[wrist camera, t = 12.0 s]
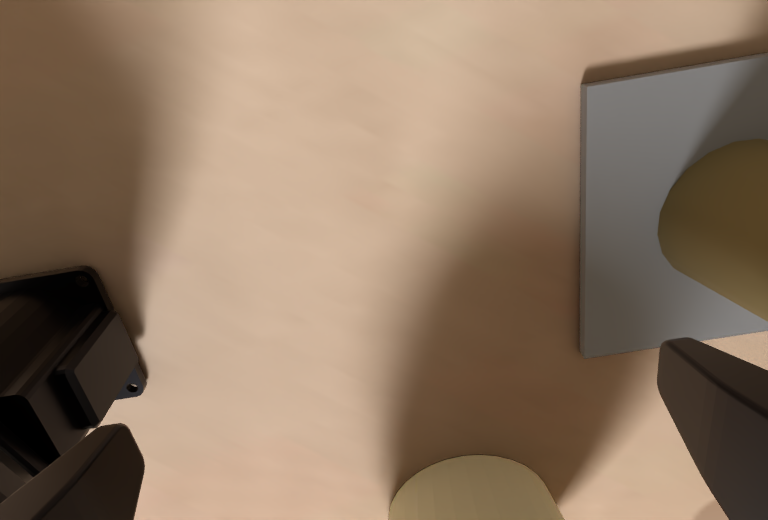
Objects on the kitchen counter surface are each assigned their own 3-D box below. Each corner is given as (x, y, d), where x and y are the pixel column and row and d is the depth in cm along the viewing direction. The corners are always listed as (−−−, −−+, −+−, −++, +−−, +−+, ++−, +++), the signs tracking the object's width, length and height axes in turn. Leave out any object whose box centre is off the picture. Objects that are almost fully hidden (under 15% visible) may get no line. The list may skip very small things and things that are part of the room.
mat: (579, 350, 25) (584, 358, 24) (581, 84, 19) (587, 86, 19) (842, 310, 24) (853, 317, 24) (916, 26, 19) (933, 27, 19)
